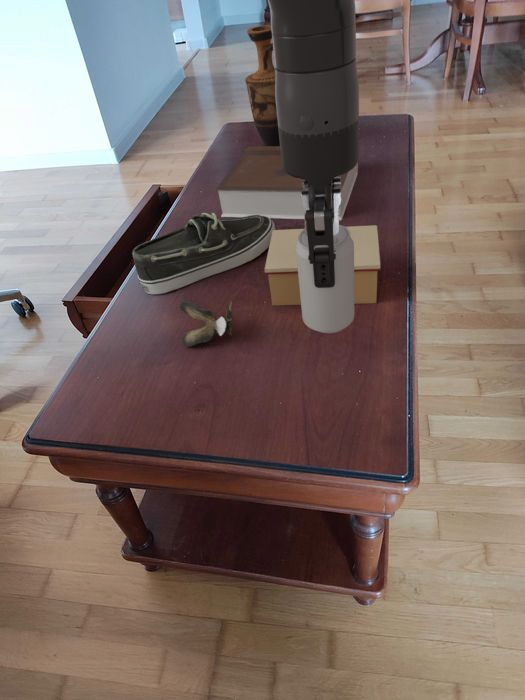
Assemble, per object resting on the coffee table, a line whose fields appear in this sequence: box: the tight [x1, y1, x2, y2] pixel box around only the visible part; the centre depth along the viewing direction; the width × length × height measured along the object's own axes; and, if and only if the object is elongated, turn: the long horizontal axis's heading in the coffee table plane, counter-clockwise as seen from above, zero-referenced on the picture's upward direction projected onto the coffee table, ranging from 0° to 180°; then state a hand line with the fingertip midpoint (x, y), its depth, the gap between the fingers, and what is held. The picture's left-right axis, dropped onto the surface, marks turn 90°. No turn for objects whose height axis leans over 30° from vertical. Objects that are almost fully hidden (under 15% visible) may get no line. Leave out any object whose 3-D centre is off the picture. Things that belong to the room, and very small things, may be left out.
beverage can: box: [296, 223, 355, 334], centre depth 60 cm, size 6×6×12 cm
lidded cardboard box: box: [264, 224, 382, 306], centre depth 91 cm, size 19×13×8 cm
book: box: [215, 145, 359, 221], centre depth 121 cm, size 24×28×6 cm
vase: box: [244, 24, 280, 146], centre depth 133 cm, size 11×11×30 cm
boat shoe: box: [131, 212, 277, 295], centre depth 100 cm, size 11×31×10 cm, turn 125°
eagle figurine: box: [178, 300, 234, 348], centre depth 85 cm, size 8×7×9 cm
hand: (325, 267), depth 59 cm, fingers closed on beverage can, 6 cm apart
